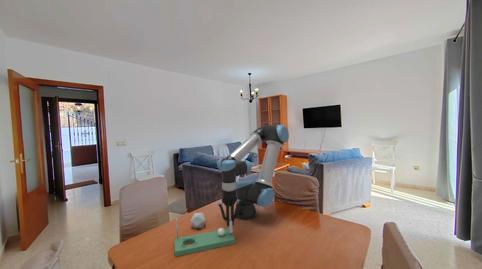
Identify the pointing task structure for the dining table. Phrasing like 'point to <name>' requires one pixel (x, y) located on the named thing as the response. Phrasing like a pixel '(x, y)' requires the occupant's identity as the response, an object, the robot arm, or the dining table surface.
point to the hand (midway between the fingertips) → (230, 231)
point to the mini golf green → (202, 241)
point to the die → (198, 220)
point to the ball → (221, 231)
